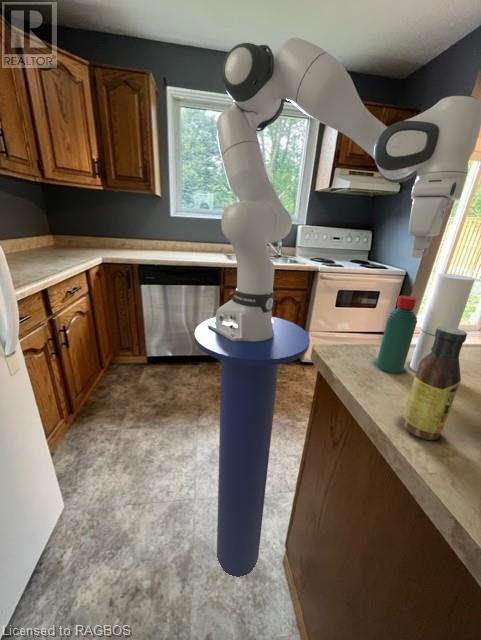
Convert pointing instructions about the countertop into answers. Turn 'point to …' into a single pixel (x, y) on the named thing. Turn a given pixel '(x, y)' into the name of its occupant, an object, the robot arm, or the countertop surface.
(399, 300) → the cap
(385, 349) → the water bottle
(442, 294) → the cylindrical container
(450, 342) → the sauce bottle
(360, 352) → the countertop surface
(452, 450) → the countertop surface
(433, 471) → the countertop surface
